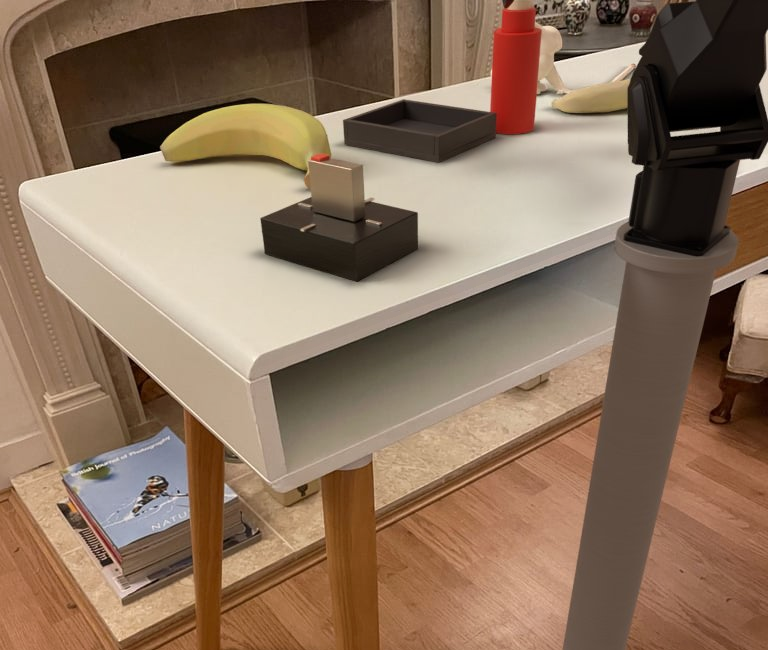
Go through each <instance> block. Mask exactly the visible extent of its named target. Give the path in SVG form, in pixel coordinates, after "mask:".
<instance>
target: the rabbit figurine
mask: <svg viewBox="0 0 768 650" xmlns="http://www.w3.org/2000/svg"><path fill="white" fill-rule="evenodd" d="M535 27H536V28H540V29H541V30H542V34H541V46H540V59H539V71H538V84H537V95H540V94H541V92H546V91H548V90H547V85H546V84H545V83H543V82H541V81H542V80H544V79H545V80H546V81H547V83H549V85H550V86H551V87H552V88H553V89H555V90H556V95H559V94H560V95H563V94H565V95H566V94H568V93H570V92H572V91H574V90H573V89H567V88H566V86H565V83H564V82H563V79H562V77H561V76H560V74H559V72H558V70H557V68H556V66H555V53H557V52H558V51H560V50H562V48H563V38H562V35H561V33H560V30H558V29H557V28H556V27H555V26H552V25H541V24H540V23H538V22H537V21H535ZM490 78H491V79H492V69H491V70H490Z"/></svg>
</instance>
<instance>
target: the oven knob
mask: <svg viewBox="0 0 768 650" xmlns="http://www.w3.org/2000/svg"><path fill="white" fill-rule="evenodd" d="M308 165H309V176H310V187H311V189H310V197H311V198H312V209H313V212H317V213H321V214H325V215H329V216H333V217H337V218H341V219H345V220H349V221H353V222H355V221H358V220H360V219H362V218H364V217H365V200H366V199H365V181H364V179H365V177H364V164H362V163H355V162H351V161H346V160H342V159H336V158H333V157H331V158H329V155H326V154H321V153H320V154H317V155H314V156H312V157H311V159H310V160H308Z"/></svg>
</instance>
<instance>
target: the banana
mask: <svg viewBox="0 0 768 650" xmlns="http://www.w3.org/2000/svg"><path fill="white" fill-rule="evenodd" d="M330 145H331V144H330V142H329V137H328V134H327V131H326V128H325V126H324V124H323V123H322V122H321V121H320V120H319V119H318V118H316V117H315V116H313V115H312V114H310V113H308V112H305V111H303V110H301V109H297V108H294V107H289V106H285V105H280V104H273V103H272V104H271V103H244V104H235V105H229V106H225V107H220V108H216V109H213V110H210V111H206V112H204V113H202V114H200V115H198V116H196V117H194V118H192V119H190V120H189V121H186V122H185V123H183V124H182V125H181V126H179V127H178V128H177V129H175V130H174V131H173V132H171V133H170V134H169V135H168V136H167V137H166V138H165V139H164V141H163V142H162V144H161V145H160V146H159V149H160V151H161V154H162V156H163V159H164V161H165V162H173V163H182V162H189V161H197V160H203V159H209V158H215V157H228V156H266V157H271V158H274V159H278V160H281V161H283V162H285V163H286V164H288V165H290V166H292V167H294V168H296V169H299V170H302V171H306V174H305V175H304V177H303V182H304V185H305V187H306V188H308V189H310V190H311V187H310V176H309V165H308V160H310V159H311V157H312V156H314V155H317V154H320V153H321V154H326V155H329V158H332V151H331V150H332V149H331V146H330Z"/></svg>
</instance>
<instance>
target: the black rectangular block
mask: <svg viewBox="0 0 768 650" xmlns="http://www.w3.org/2000/svg"><path fill="white" fill-rule="evenodd" d="M259 221H260V227H261V235H262V242H263V250H264V254H265V255H267V256H271V257H274V258H278V259H281V260H284V261H287V262H291V263H294V264H297V265H301V266H305V267H308V268H310V269H314V270H318V271H321V272H324V273H327V274H330V275H334V276H337V277H341V278H343V279H347V280H351V281H354V282H358V281H360V280H362V279H363V278H366V277H368V276H369V275H371V274H374V273H375V272H377V271H379V270H380V269H383V268H384V267H386V266H388V265H390V264H392V263H393V262H395V261H397V260H400V259H401V258H403V257H405V256H407V255H408V254H410V253H413V252H414V251H416V250H418V249H419V213H418V211H414V210H409V209H405V208H401V207H397V206H392V205H388V204H383V203H379V202H376V201H375V198H374V197H369V198H366V199H365V217H364V218H362V219H360V220H358V221H355V222H353V221H349V220H345V219H341V218H337V217H333V216H329V215H325V214H321V213H317V212H313V209H312V198H311V196H310V197H308V198H305V199H303V200H300V201H298V202H296V203H295V202H294V203H293V204H291V205H288V206H286V207H284V208H280V209H278V210H276V211H274V212H271V213H269V214H266V215H264V216H262V217H260V220H259Z"/></svg>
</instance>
